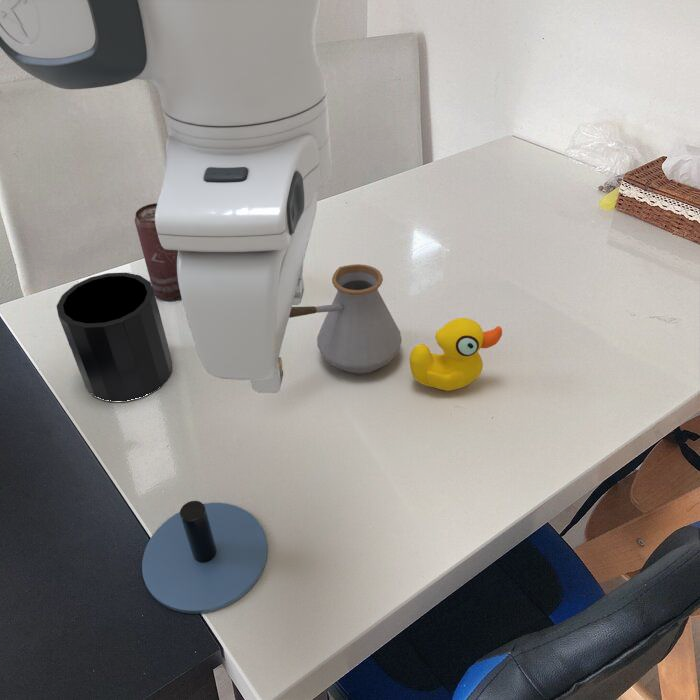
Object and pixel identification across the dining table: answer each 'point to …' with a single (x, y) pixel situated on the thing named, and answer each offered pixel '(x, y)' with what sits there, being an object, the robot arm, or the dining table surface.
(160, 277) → the can
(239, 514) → the lid
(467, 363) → the duckling
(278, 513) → the dining table surface
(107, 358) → the cup
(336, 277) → the coffee pot
